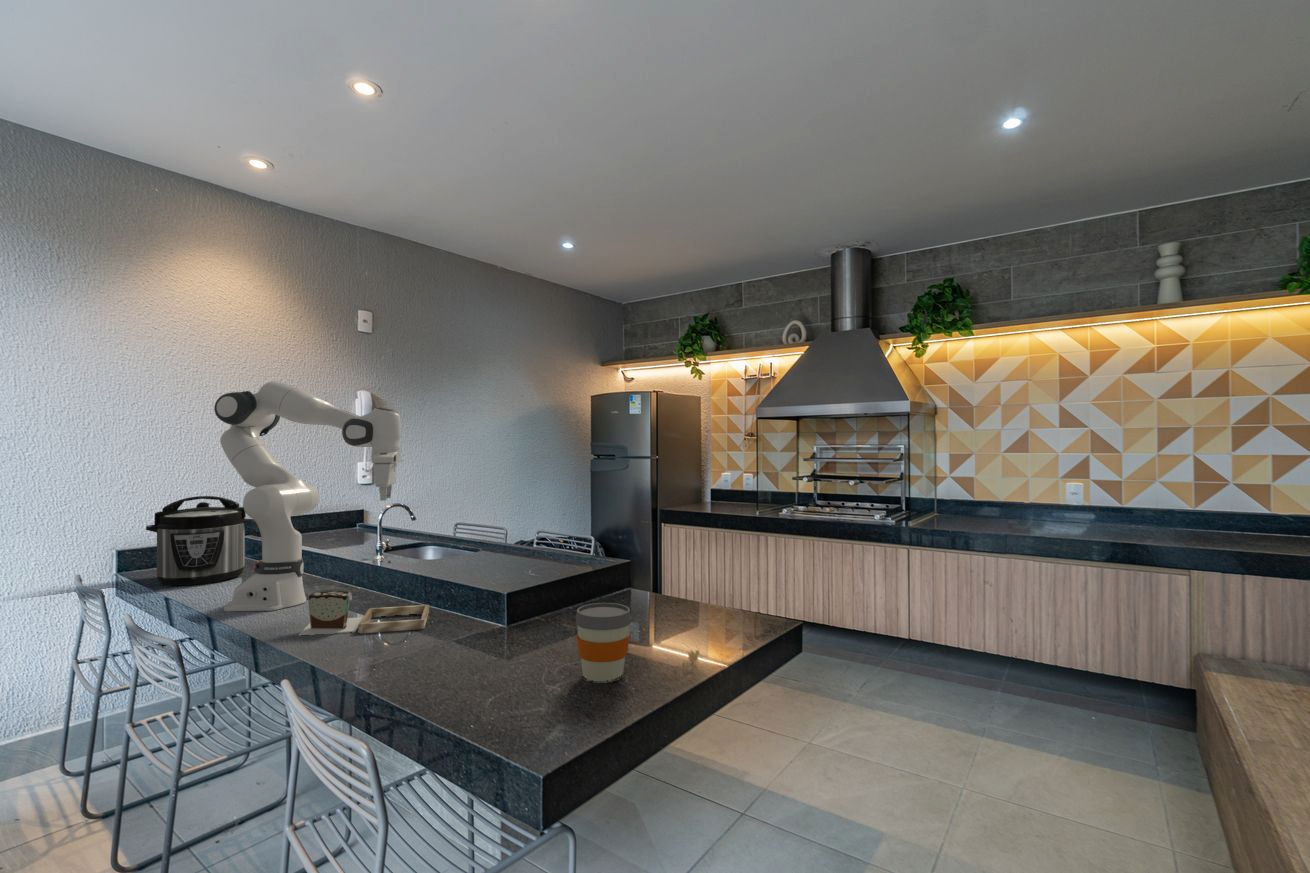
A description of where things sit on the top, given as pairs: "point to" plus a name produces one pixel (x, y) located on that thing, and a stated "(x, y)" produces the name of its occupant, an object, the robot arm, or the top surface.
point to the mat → (351, 627)
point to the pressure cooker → (200, 542)
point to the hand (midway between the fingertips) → (385, 499)
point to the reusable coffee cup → (603, 639)
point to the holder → (393, 625)
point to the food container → (329, 608)
